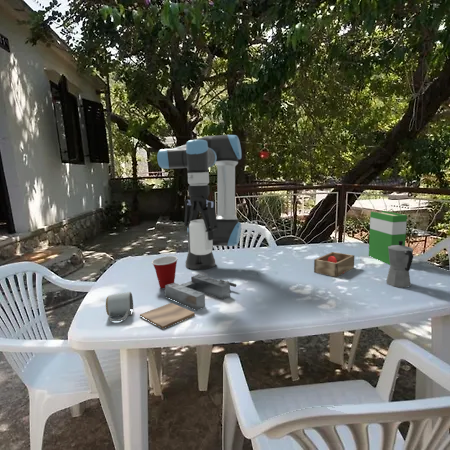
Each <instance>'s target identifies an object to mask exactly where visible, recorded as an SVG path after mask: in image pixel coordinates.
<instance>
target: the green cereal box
mask: <svg viewBox="0 0 450 450" xmlns="http://www.w3.org/2000/svg"><path fill="white" fill-rule="evenodd" d="M407 219H408V215H407V214H401V213H396V212H390V211H386V210H382V211H380V212H376V211H370V217H369V221H370V222H369V242H368V257H370V256H371V257H370V258H372V257H373V258H372V259H374V260H377V259H378V261H379V260H380V261H379V262H382V263H384V264H387V265H389V266H390V261H389V251H388V246H391V245H399V241H403V244H402V245H403V246H406V239H407V238H406V235H407V222H408V220H407Z"/></svg>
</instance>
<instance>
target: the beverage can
mask: <svg viewBox="0 0 450 450" xmlns="http://www.w3.org/2000/svg"><path fill="white" fill-rule="evenodd" d="M209 228H210V227H209ZM206 230H207V229H206V226H205V223H204V220H203V218H201V219H200V218H199V219H196V220H192V221H190V224H189V233H190V252H191V253H193V254H195V255H206V254H209V253H211V252H212V253H213V248H211V249H206V238H205V231H206Z"/></svg>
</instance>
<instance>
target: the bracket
mask: <svg viewBox="0 0 450 450" xmlns="http://www.w3.org/2000/svg"><path fill="white" fill-rule="evenodd" d="M328 262H333V263H337V260H336V258H335V257H334V256H330V257H329V258H328ZM344 274H345V273H344V272H343V274H342V275H344Z"/></svg>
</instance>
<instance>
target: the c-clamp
mask: <svg viewBox="0 0 450 450" xmlns="http://www.w3.org/2000/svg"><path fill="white" fill-rule="evenodd" d="M190 279H191V280H190V281H187V282H184V283H181V284H179V283H176V282H174V283H171V284H168V285H165V289H164V298H165V297H167V298H166V299H168V298H170V299H172V300H175V301H177V302H179V303H178V304H180V303H181V304H180V305H182V304H183V305H182V306H184V305H186V306H185V307H187V306H188V308H189V307H190V308H189V309H192V308H193V309H192V310H194V309H195V310H194V311H199V310H202V309H203V308H206V296H205V294H207V295H209V296H212V297H215V298H218V299H221V300H225V299H228V298H230V297H231V287H234V288H236V287H237V284H236V283H232V282H230V281H228V280H224V279H223V280H222V279H219V280H218V279H215V278H211V277H208V276H206V275H201V274H196V275H195V274H194V275H193V276H191V278H190ZM170 299H169V300H170ZM172 300H171V301H172ZM175 301H174V302H175ZM177 302H176V303H177ZM201 308H202V309H201Z"/></svg>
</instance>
